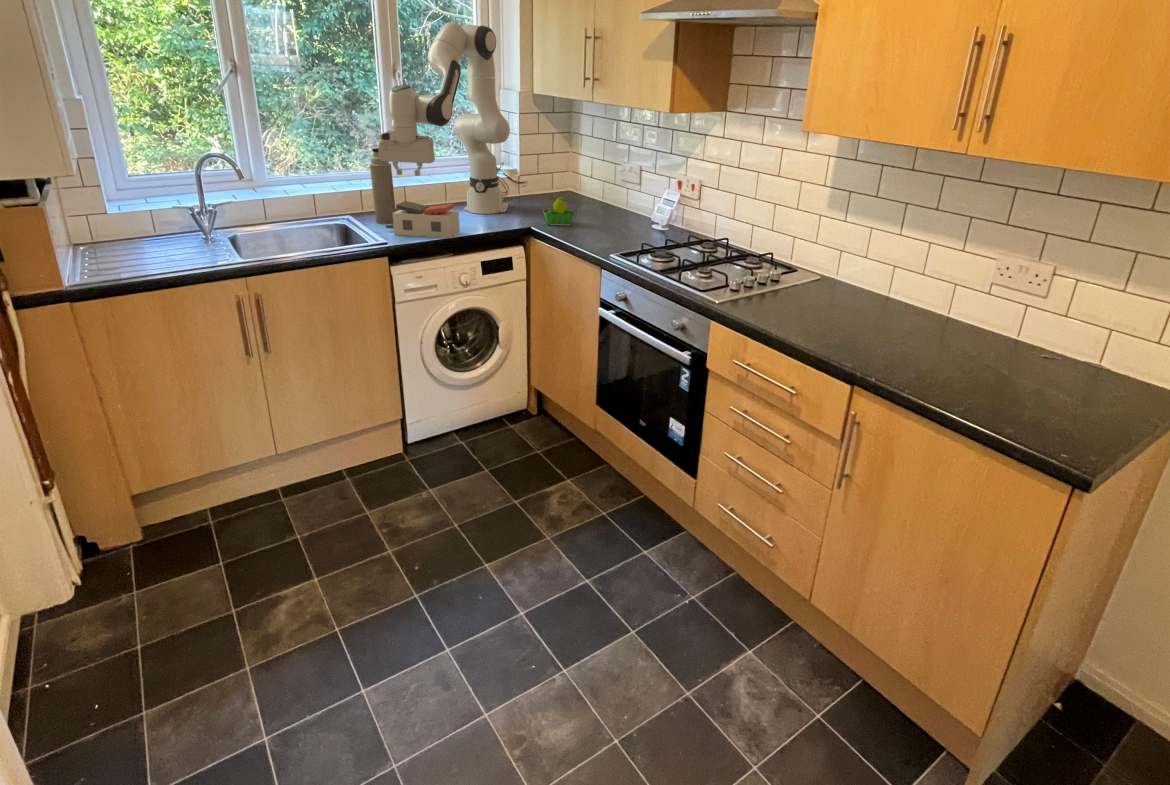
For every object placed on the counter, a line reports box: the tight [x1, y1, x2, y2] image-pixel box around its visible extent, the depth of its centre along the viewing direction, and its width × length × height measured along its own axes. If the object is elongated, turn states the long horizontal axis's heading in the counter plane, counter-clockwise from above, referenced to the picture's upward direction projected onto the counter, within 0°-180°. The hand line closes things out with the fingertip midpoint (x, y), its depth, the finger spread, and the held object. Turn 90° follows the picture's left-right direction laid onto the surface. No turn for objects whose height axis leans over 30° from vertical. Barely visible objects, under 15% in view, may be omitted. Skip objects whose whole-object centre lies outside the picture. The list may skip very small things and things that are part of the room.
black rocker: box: [395, 200, 429, 214], centre depth 265 cm, size 8×9×2 cm
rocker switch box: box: [385, 209, 461, 239], centre depth 267 cm, size 10×27×8 cm, turn 81°
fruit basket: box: [542, 196, 574, 225], centre depth 283 cm, size 11×9×11 cm
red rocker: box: [423, 203, 455, 214], centre depth 263 cm, size 8×9×2 cm
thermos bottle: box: [369, 147, 397, 225], centre depth 279 cm, size 8×8×28 cm
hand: (408, 175), depth 260 cm, fingers open, 5 cm apart
